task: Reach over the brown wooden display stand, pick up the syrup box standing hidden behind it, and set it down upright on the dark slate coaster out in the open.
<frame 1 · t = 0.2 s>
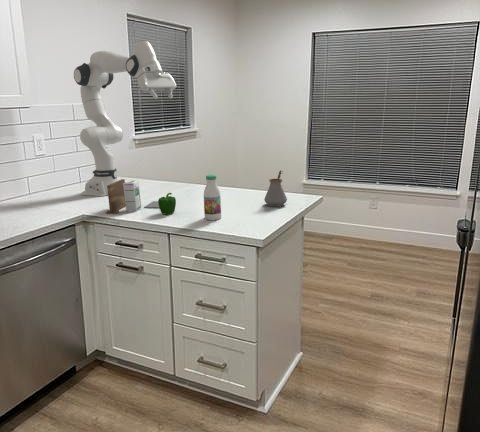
hand: (163, 98, 218), 54 cm above the countertop, tool tilted 30°, fingers open, 8 cm apart
coffee pot: (277, 202, 234), on the countertop
milk bottle: (213, 218, 209), on the countertop
coaster: (159, 205, 235), on the countertop
bell pepper: (168, 213, 219), on the countertop
brown wooden display stand: (118, 209, 229), on the countertop
syrup box: (133, 210, 228), on the countertop
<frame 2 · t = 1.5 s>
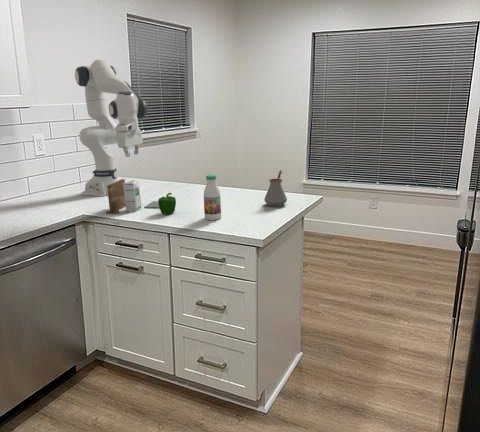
hand: (132, 155, 220), 27 cm above the countertop, tool pointing down, fingers open, 8 cm apart
nothing on the countertop moved.
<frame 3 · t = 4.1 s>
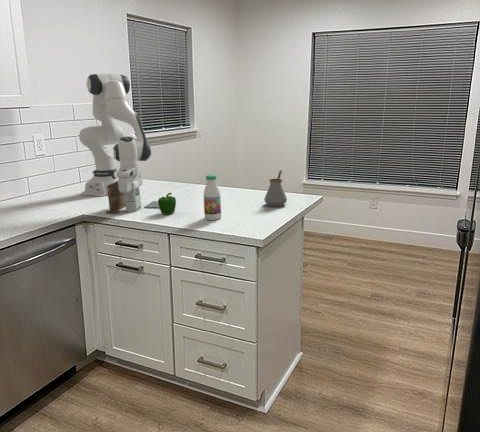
hand: (132, 198, 226), 6 cm above the countertop, tool pointing down, fingers closed on syrup box, 6 cm apart
syrup box: (133, 210, 228), on the countertop, touching gripper
everything else where it was.
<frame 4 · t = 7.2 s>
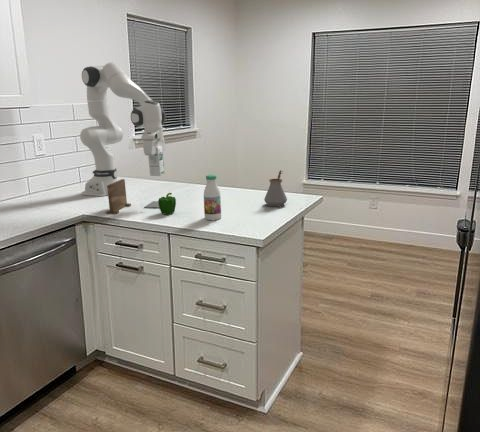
hand: (156, 161, 229), 23 cm above the countertop, tool pointing down, fingers closed on syrup box, 6 cm apart
syrup box: (157, 175, 231), point 16 cm above the countertop, touching gripper
everything else where it was.
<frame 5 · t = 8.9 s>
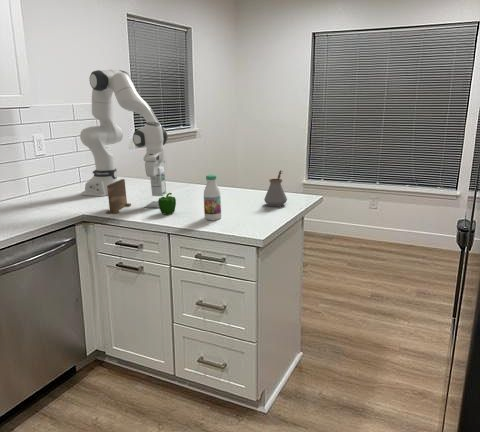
hand: (158, 182, 232), 12 cm above the countertop, tool pointing down, fingers closed on syrup box, 6 cm apart
syrup box: (159, 195, 233), point 5 cm above the countertop, touching gripper
everything else where it was.
when the fingers open (8 cm above the countertop, at t = 10.2 s): syrup box stays where it is, resting on coaster.
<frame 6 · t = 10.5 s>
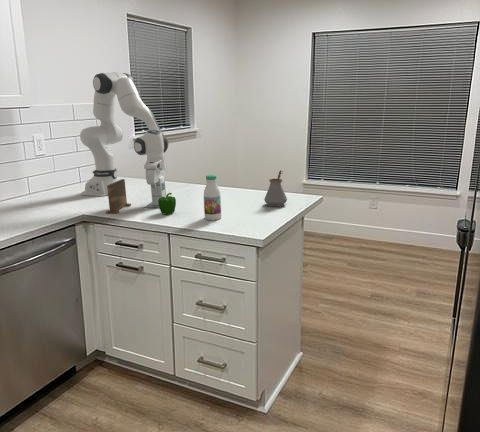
hand: (158, 189, 233), 8 cm above the countertop, tool pointing down, fingers open, 8 cm apart
syrup box: (159, 204, 235), resting on coaster
everything else where it was.
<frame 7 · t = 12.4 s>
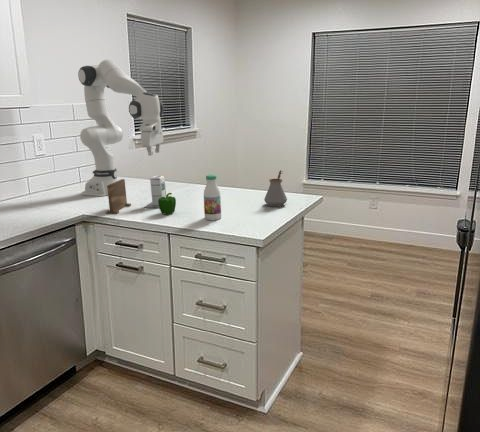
hand: (154, 153, 229), 26 cm above the countertop, tool pointing down, fingers open, 8 cm apart
nothing on the countertop moved.
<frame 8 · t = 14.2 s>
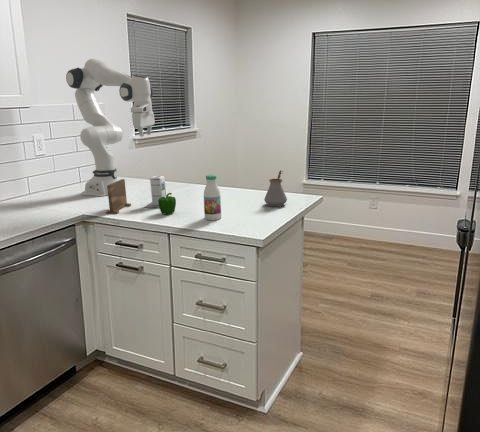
hand: (145, 135, 234), 35 cm above the countertop, tool pointing down, fingers open, 8 cm apart
nothing on the countertop moved.
at the end: syrup box 0.1 cm from the coaster (horizontally); syrup box tilted 0°; the gripper is holding nothing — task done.
